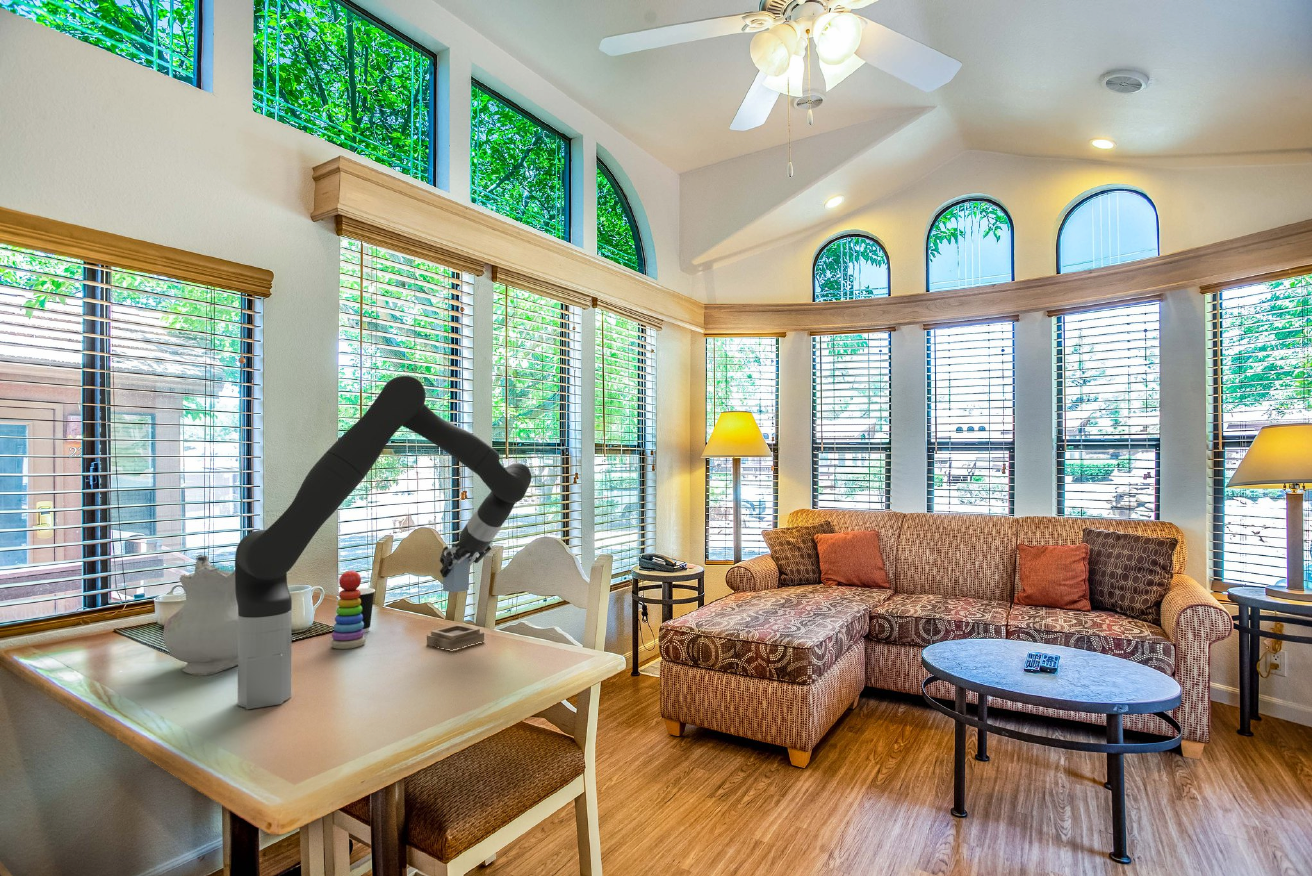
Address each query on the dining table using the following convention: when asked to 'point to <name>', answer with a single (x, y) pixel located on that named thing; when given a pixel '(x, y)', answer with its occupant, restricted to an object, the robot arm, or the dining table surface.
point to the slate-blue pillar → (457, 577)
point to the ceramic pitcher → (205, 621)
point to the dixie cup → (366, 606)
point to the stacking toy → (348, 614)
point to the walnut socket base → (455, 637)
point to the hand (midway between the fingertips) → (451, 573)
